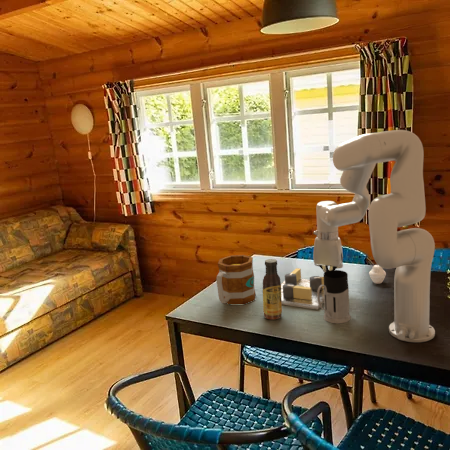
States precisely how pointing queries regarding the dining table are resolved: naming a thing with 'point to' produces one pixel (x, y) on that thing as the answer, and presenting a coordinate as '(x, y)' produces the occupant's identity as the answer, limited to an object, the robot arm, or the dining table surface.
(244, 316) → the dining table surface
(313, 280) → the knob right
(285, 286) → the knob front
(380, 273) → the white carved ornament
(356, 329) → the dining table surface
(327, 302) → the glass holder
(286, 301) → the base plate
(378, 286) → the dining table surface
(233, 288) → the mug
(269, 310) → the sauce bottle
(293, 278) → the knob left
